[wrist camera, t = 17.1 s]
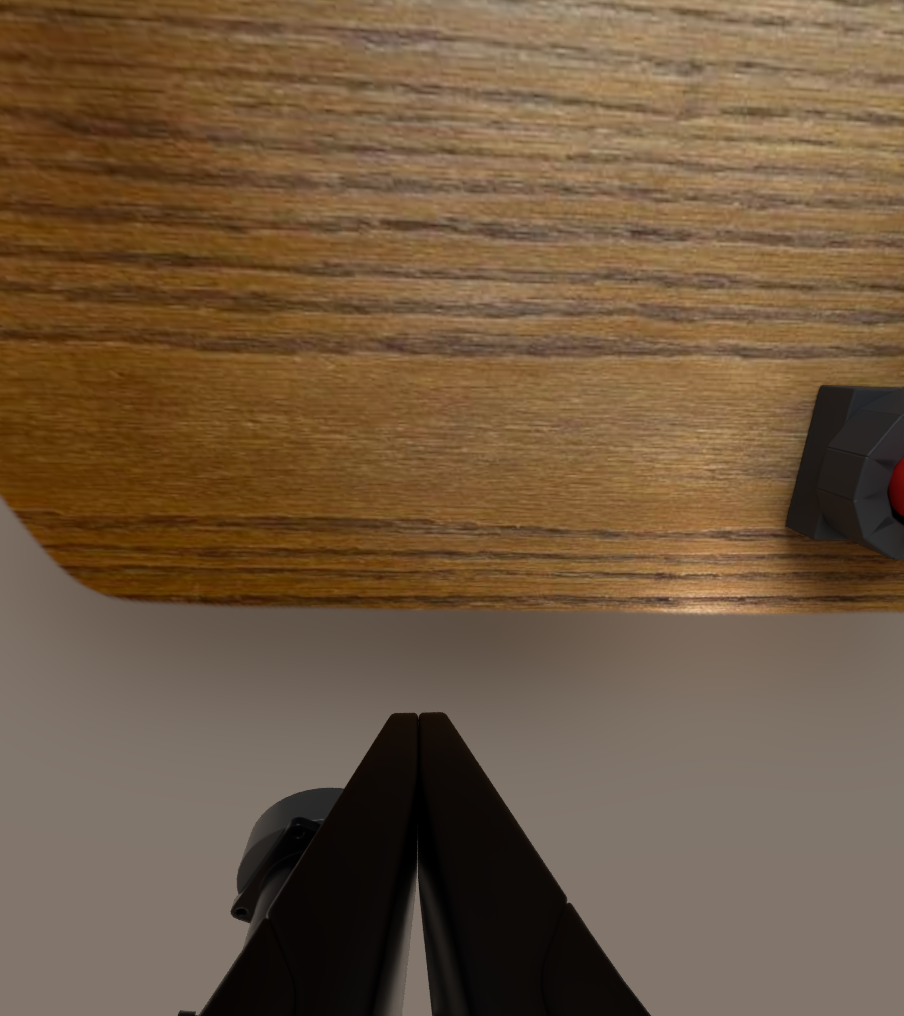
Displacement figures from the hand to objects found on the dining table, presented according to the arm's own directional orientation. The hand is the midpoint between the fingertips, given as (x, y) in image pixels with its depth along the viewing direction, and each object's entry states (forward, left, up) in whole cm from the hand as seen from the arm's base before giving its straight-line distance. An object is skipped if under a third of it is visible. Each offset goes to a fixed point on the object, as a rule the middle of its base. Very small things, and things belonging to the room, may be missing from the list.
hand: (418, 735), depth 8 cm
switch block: (+12, -17, -13) cm, 25 cm away
